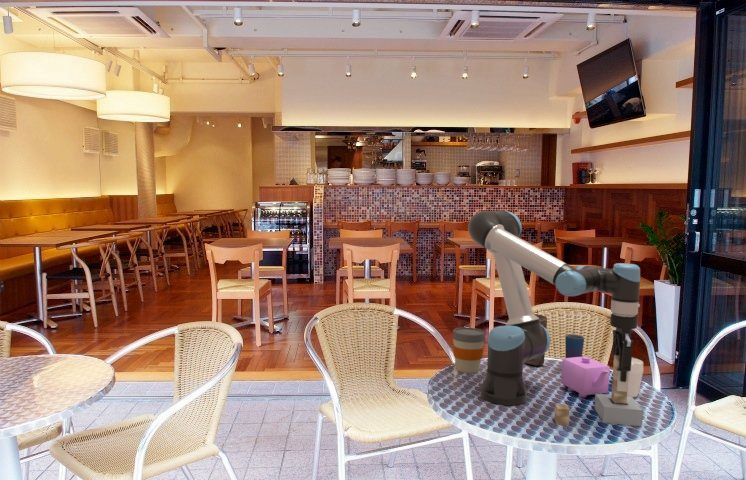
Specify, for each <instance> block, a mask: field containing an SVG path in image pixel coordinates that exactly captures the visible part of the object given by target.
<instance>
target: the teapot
mask: <svg viewBox="0 0 746 480" xmlns="http://www.w3.org/2000/svg"><path fill="white" fill-rule="evenodd" d="M561 362H562V363H561V378H560V379H561V380H560V384H562V385H563V386H565V387H567V391H568V390H569V392H576V393H578V397H580V398H585V399H586V398H587V396H591V395H594V396H595V394H606V393H607V394H608V393H609V384H610V373H611V371H610V368H611V367H610V366H609V365H608V364H605V363H602V362H601V361H598V360H595V359H594V358H591V357H590V356H585V355H584V356H582V357H573V358H566V357H565V358H564V357H563V358H562V361H561Z"/></svg>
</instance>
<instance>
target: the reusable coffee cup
mask: <svg viewBox="0 0 746 480" xmlns="http://www.w3.org/2000/svg"><path fill="white" fill-rule="evenodd" d="M485 333H486V332H485V331H484V330H482V329H480V328H476V327H475V328H474V327H467V326H466V327H456V328H454V329H453V332H452V337H451V338H452V340H453V341H452V342H453V343H452V350H453V351H452V352H453V353H452V354H453V357H454V363H455V369H456V370H457V371H459V372H462V373H467V374H468V373H470V374H471V373H472V374H473V373H478V372H479V371H480V367H481V366H480V364H481V360H482V359H483V355H484V349H485V346H484V344H485V343H484V342H485V340H486V336H485V335H486V334H485Z"/></svg>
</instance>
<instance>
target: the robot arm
mask: <svg viewBox="0 0 746 480" xmlns="http://www.w3.org/2000/svg"><path fill="white" fill-rule="evenodd" d="M467 229H468V234H469V236H470V238H471V239H472V240H473V241H474V242H475V243H476V244H478V245H479V246H481V248H482V247H483V248H484V249H486V250H487V251H488V252H489V253H491V254H492V255H493V258H494V262H495V266H496V267H495V268H496V271H497V275H498V279H499V284H500V287H501V290H502V295H503V299H504V304H505V308H506V312H507V315H508V320H507V322H506V324H505V325H499V326H495V327H493V328H492V329H491V330H490V331H489V333H488V339H487V345H488V346H487V362H486V363H487V364H486V365H487V368H486V374H485V377H484V380H483V383H482V384H481V385H482V386H481V389H480V396H481V398H483V400H485V401H487V402H490V403H492V404H495V405H496V404H497V405H504V406H519V405H522V404H524V403H526V402H527V400H528V392H527V387H526V385H525V381H524V377H523V373H524V371H523V370H524V363H525V362H526V361H528V360H531V359H536V358H538V357H540V356H541V355H543V354H544V353H545V354H546V352H547V351H548V349H549V348H550V345H551V336H550V333H549V331H548V329H547V328H544V327H543V326H542V325H541V324H540V321H539V318H538V317H537V316H535V315H534V311H533V308H532V303H531V300H530V295H529V293H528V287H527V284H526V279H525V275H524V271H523V269H522V267H523V268H525V269H527V270H528V271H530V272H531V273H534V274H535V275H537V276H539V277H540V278H542V279H544V280H545V281H547V282H549V283H550V284H552V285H554V286H555V288H556V290H557V291H558V292H559V294H561V295H562V296H565V297H576V296H577V297H578V296H580V295H583V294H588V293H591V292H599V293H607V294H611V300H610V301H611V302H610V312H611V313H610V319H609V320H610V321H609V322H610V323H609V324H610V326H612V327H613V328H615V329H613V330H612V355H611V356H612V358H611V361H613V362H614V355H619V368H617V371H618V376H617V391H623V392H627V378H628V371H631V360H632V358H633V348H634V343H635V342H634V339H632V334H631V330H636V328H638V320H639V318H638V313H639V308H640V307H641V304H640V303H639V301H640V299H639V297H640V286H641V267H639V265H637V264H634V263H624V262H623V263H621V262H620V263H614V264H613V268H604V267H597V266H590V265H578V266H576V268H575V267H574V266H572V265H570V264H568V263H566V262H564V261H563V260H560V259H559V258H558V257H555V256H553V255H552V254H550V253H548V252H546V251H544V250H543V249H540V248H539V247H537V246H534V245H533V244H531V243H529V242H528V241H526V240H524V239H522V238H520V236H521V233H522V230H523V227H522V222H521V220H520V218H519V216H517V215H516V214H515V213H514V212H511V211H508V210H507V211H506V210H490V211H489V210H481V211H479V212H476V213H475V214H474V215H473V216H472V217H471V218H470V219H469V222H468V226H467Z"/></svg>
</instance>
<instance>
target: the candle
mask: <svg viewBox="0 0 746 480" xmlns="http://www.w3.org/2000/svg"><path fill="white" fill-rule="evenodd" d="M533 314H534V313H533ZM534 315H535V316H537V317H538V318H539V321H540V324H541V325H542V326H543V327H544V328H546V329H547V325H548V317H547V316H546V315H543V314H534ZM545 355H546V352H545V353H544V354H543V355H541V356H540V357H538V358H536V359H531V360H528V361H526V362H524V363H525V364H527V365H528V364H529V365H530V366H534V367H537V366H541V365H543V364H545V358H546V357H545Z"/></svg>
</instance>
